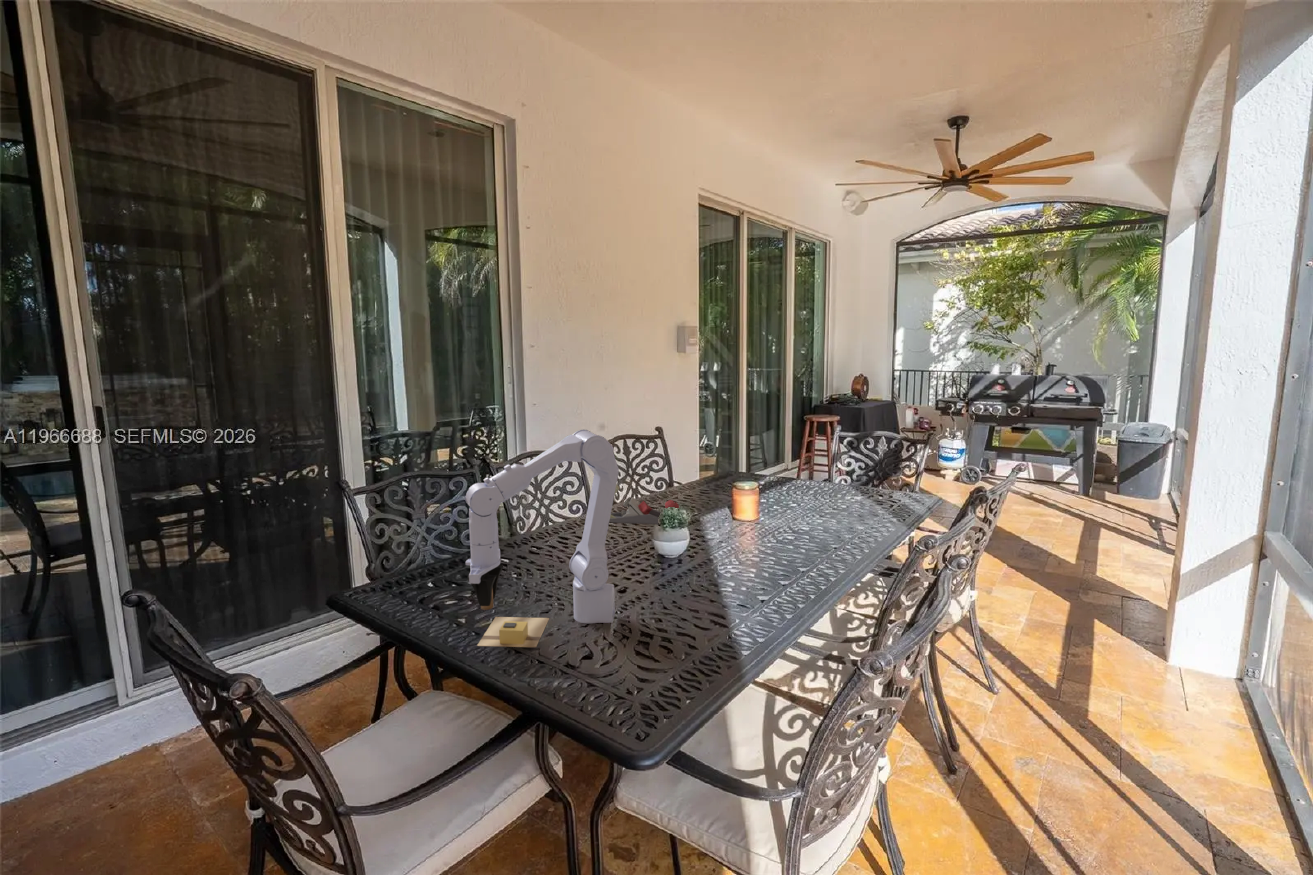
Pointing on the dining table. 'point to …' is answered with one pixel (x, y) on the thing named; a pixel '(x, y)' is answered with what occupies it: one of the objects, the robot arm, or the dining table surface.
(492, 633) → the plywood panel
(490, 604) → the brown gray-topped cylinder
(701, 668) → the dining table surface
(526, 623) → the stud finder
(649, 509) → the hand plane
